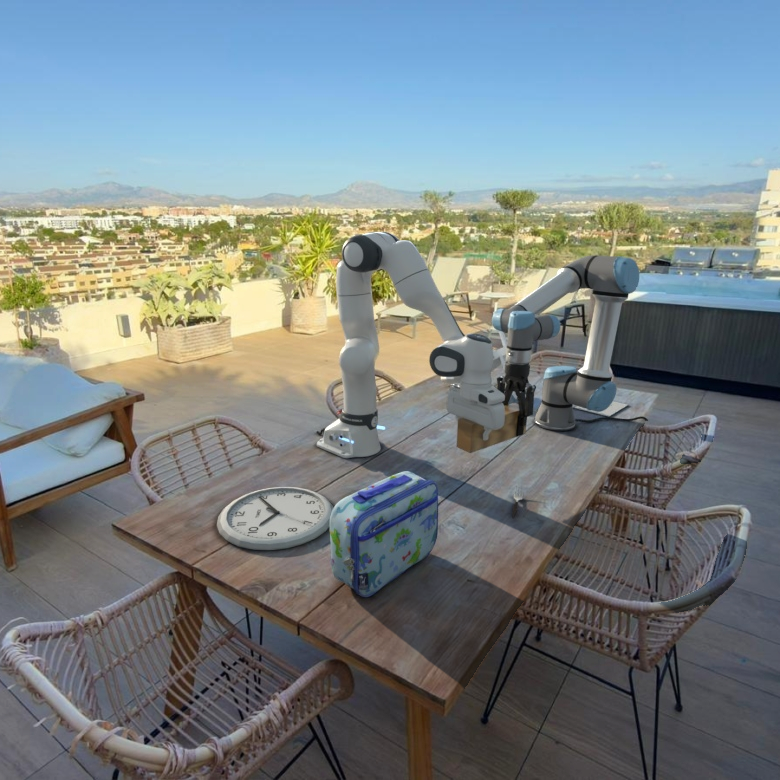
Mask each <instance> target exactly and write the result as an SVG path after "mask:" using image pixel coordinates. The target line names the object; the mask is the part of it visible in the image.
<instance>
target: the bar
mask: <svg viewBox="0 0 780 780" xmlns="http://www.w3.org/2000/svg"><path fill="white" fill-rule="evenodd" d="M504 407H505V421H504V426H503V427H502V428H500V429H497V430H491V432H490V433H489V436H488V440H482V439H481V434H482V433H484V432H485V430H484V426H482V425H479V424H477V423H475V422H472V421H469V420H467V419H464V418H460V419H458V423H457V428H456V429H457V431H456V445H455V446H456V448H458V449H460V450H462V451H464V452H466V453H469V454H472V453H476V452H478V451H481V450H484V449H487V448H489V447H492V446H495V445H498V444H500V443H504V442H506V441H509V440H512V439H515V438H517V437H519V436H516V430H517V419H518V416H520V412H519V405H518V403H515V402H512V403H509V404H508V405H505V406H504ZM527 422H528V420H527V421H526V426H524V432H523V435H526V434H527V433H526V432H527Z"/></svg>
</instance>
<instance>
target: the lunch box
mask: <svg viewBox="0 0 780 780" xmlns="http://www.w3.org/2000/svg"><path fill="white" fill-rule="evenodd" d="M438 531H439V490H438V485H437V483H436V482H435V481H434V480H432V479H424V478H423V477H422V476H420V475H417V474H415V473H414V472H412V471H408V470H406V471H405V470H404V471H400V472H399V473H395V474H393V475H391V476H388V477H386V478H384V479H382V480H379V481H377V482H375V483H373V484H371V485H368V486H366V487H364V488H362V489H360V490H358V491H356V492H353V493H352V494H350V495H347V496H345V497H343V498H342V499H340V500H339V501H338V502H337V503H335V505H334V506H333V510H332V513H331V516H330V526H329V541H330V565H331V572H332V575H333V577H334V579H335V580H337V581H339V582H341V583H343V584H345V585H347V586H348V587H349V588H351V589H352V590H354V592H355V594H357V595H359V596H360V597H363V598H369V597H371V596H374V595H375V594H376V593H377V592H378V591H380V590H381V589H383V588H384V587H385V586H386V585H387V584H389V583H390V582H392V581H393V580H395V579H397V578H398V577H399V576H400V575H402V574H403V573H404V572H405V571H406V570H408V569H409V568H410V567H412V566H413V565H416V564H417V563H419V562H421V561H422V560H424V559H425V558H426V557H428V555H430V553H431V552H432V550H433V549H434V547H435V545H436V542H437V540H438Z"/></svg>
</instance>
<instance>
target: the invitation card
mask: <svg viewBox="0 0 780 780" xmlns="http://www.w3.org/2000/svg"><path fill="white" fill-rule="evenodd" d="M628 406H629V404H627V403H623V402H618V401H614V400H613V402H612V403H611V405H610V406H609V407H608V408H607V409H605V410H604V411H601V412H596V411H593V410H588V409H586V408H583V407H579V406H576V405H575V406H574V407H573V409H575V410H581V411H584V412H587V413H593V414H596V415H600V416H603V417H612V416H613V415H614V414H616V413H617V412H619V411H621V410H623V409H624V408H626V407H628Z"/></svg>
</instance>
